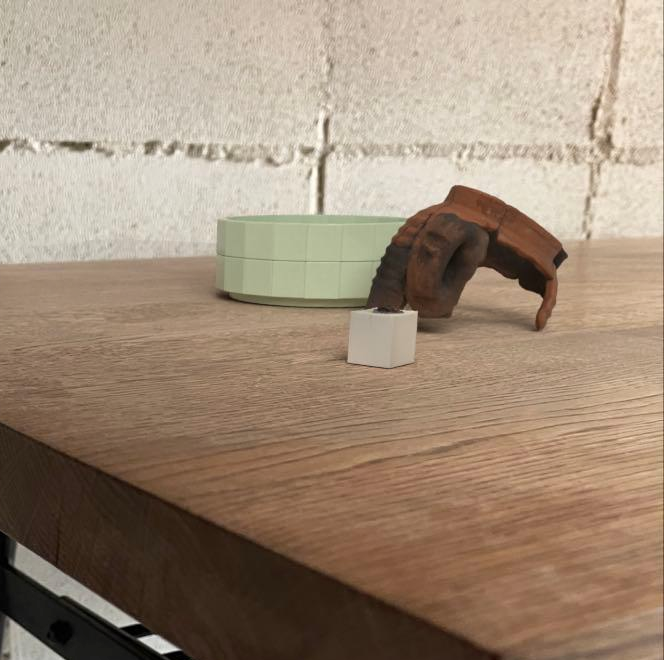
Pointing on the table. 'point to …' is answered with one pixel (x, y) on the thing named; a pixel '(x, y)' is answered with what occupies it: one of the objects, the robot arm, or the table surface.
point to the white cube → (382, 337)
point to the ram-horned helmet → (465, 255)
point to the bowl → (302, 258)
